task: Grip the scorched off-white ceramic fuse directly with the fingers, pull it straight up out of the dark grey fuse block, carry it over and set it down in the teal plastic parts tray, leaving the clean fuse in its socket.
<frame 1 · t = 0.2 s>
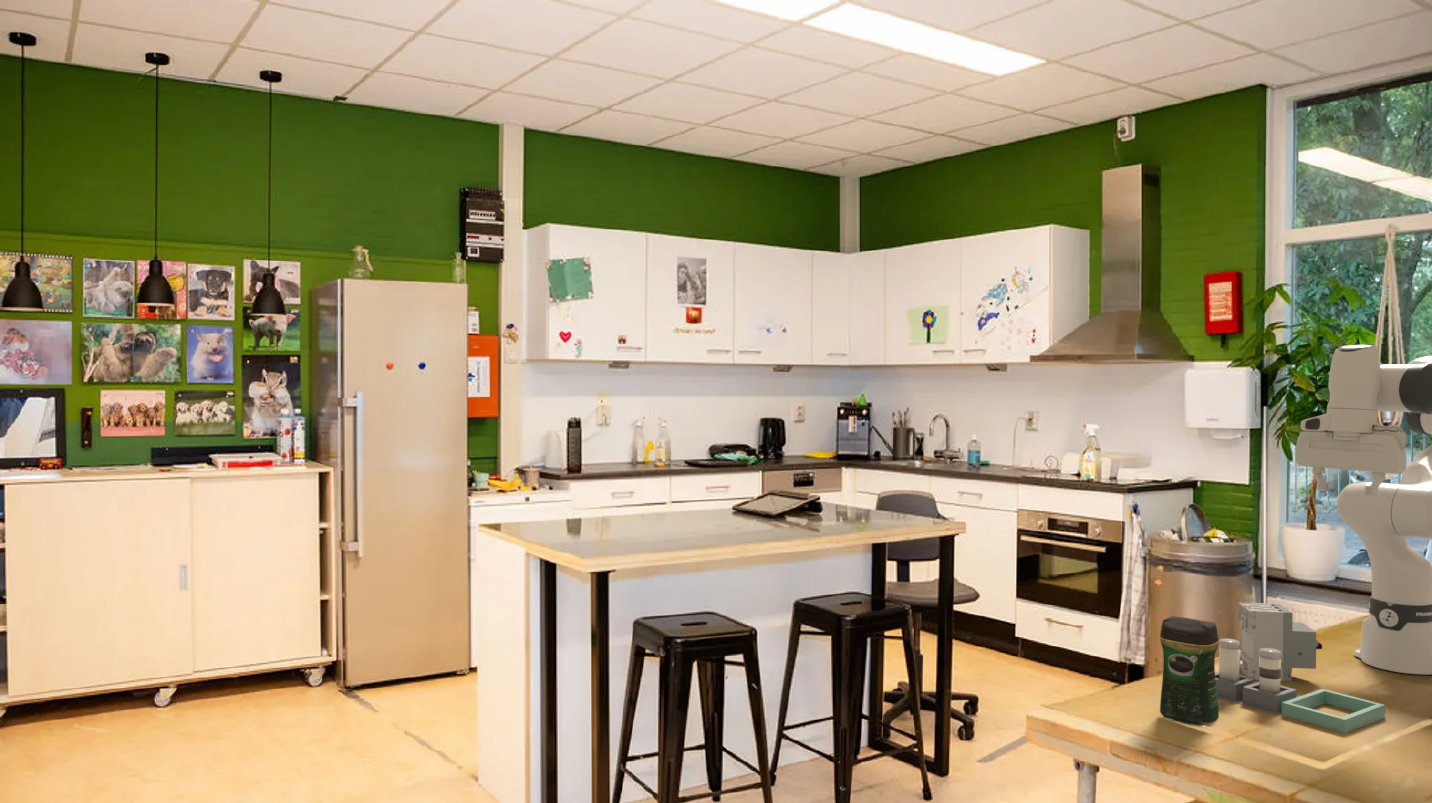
hand: (1346, 493, 206), 39 cm above the table, tool pointing down, fingers open, 8 cm apart
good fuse: (1229, 692, 200), point 1 cm above the table, touching fuse block
parts tray: (1332, 721, 187), on the table
fuse block: (1248, 703, 197), on the table
circuit breaker: (1279, 681, 211), on the table
blown fuse: (1269, 704, 194), point 1 cm above the table, touching fuse block
coffee jar: (1188, 719, 189), on the table
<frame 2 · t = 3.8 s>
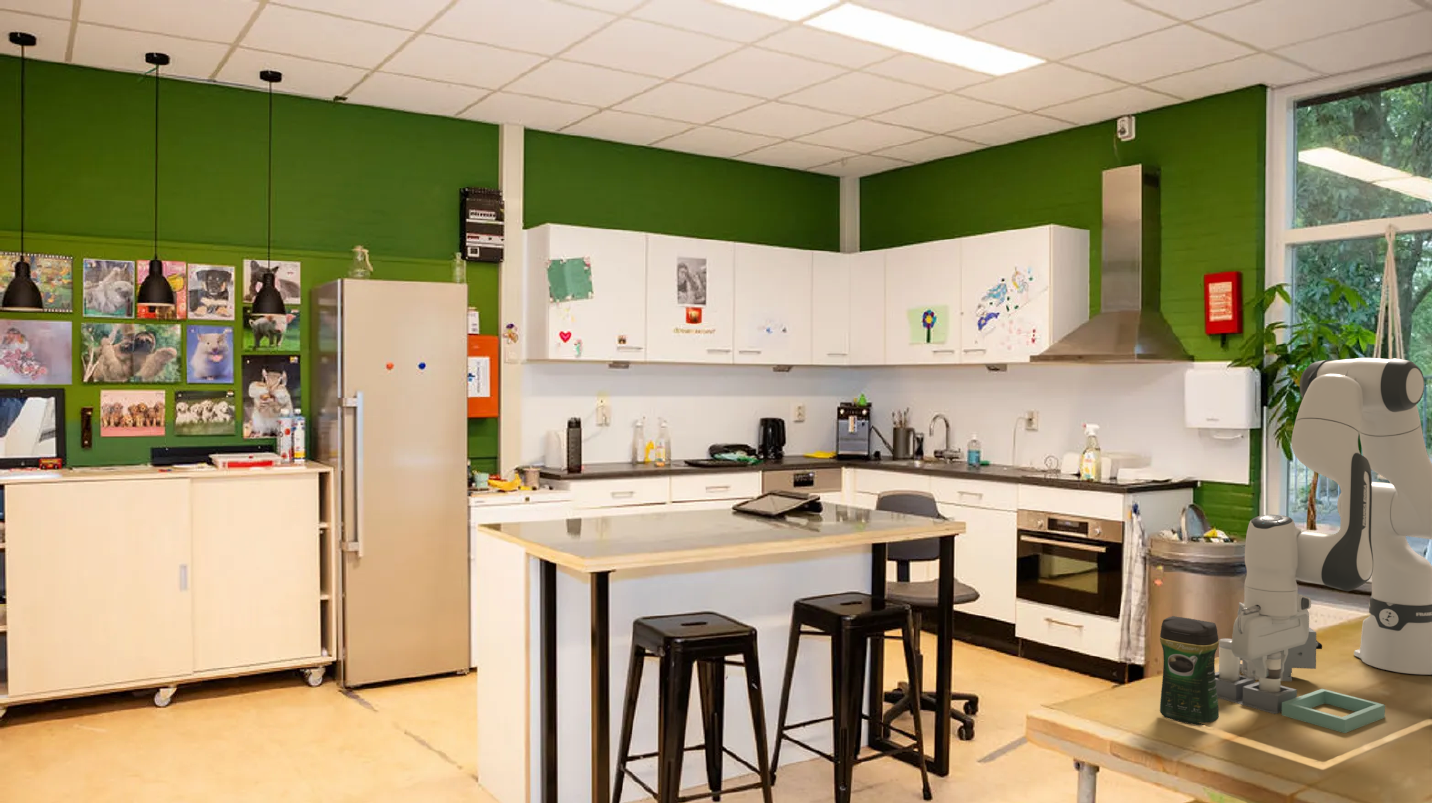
hand: (1269, 674, 193), 7 cm above the table, tool pointing down, fingers closed on blown fuse, 4 cm apart
blown fuse: (1269, 704, 194), point 1 cm above the table, touching fuse block, gripper
everything else where it was.
when the fingers open (8 cm above the table, at t = 10.2 s): blown fuse drops 1 cm, resting on parts tray.
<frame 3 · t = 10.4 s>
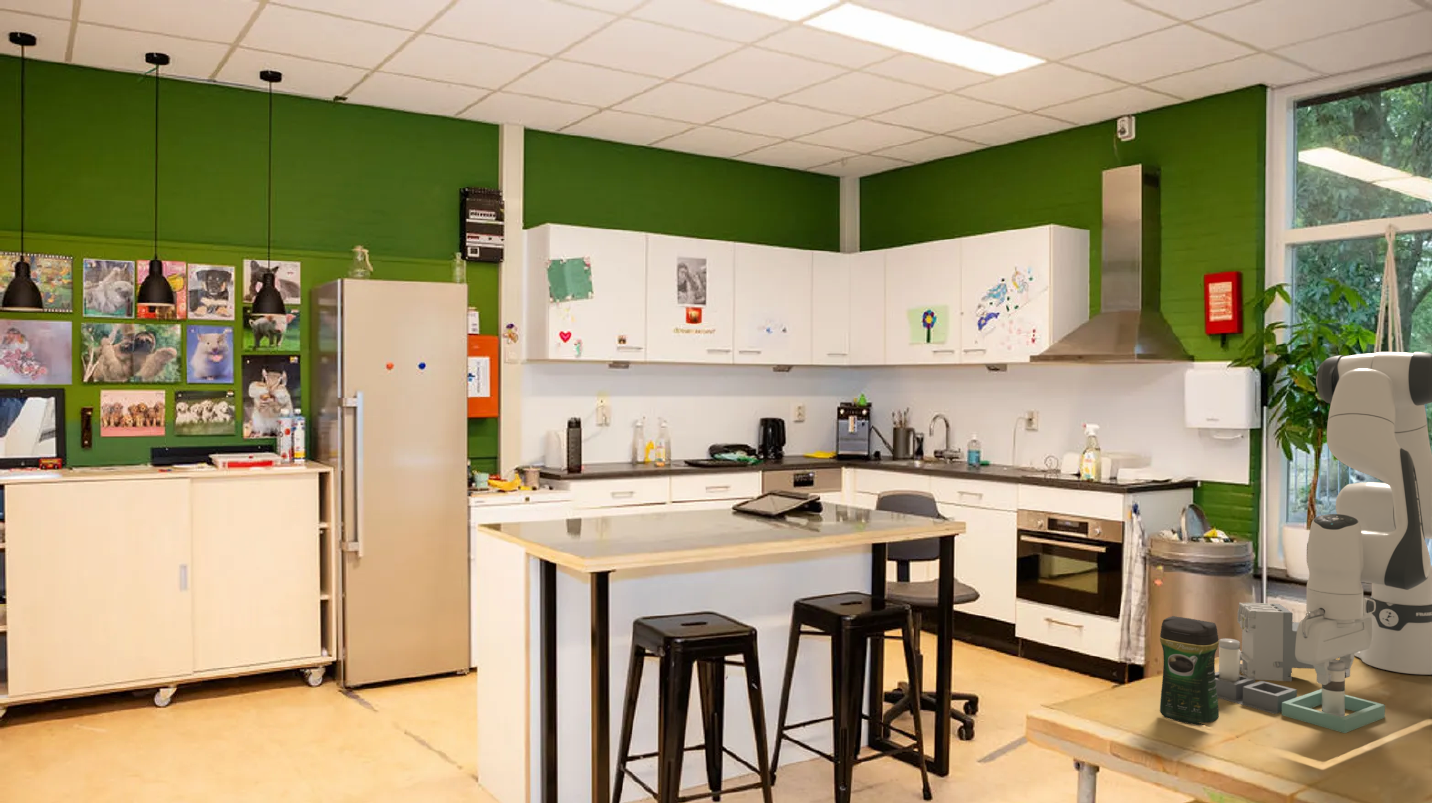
hand: (1333, 680, 187), 8 cm above the table, tool pointing down, fingers open, 5 cm apart
blown fuse: (1333, 716, 187), point 1 cm above the table, touching parts tray
everything else where it was.
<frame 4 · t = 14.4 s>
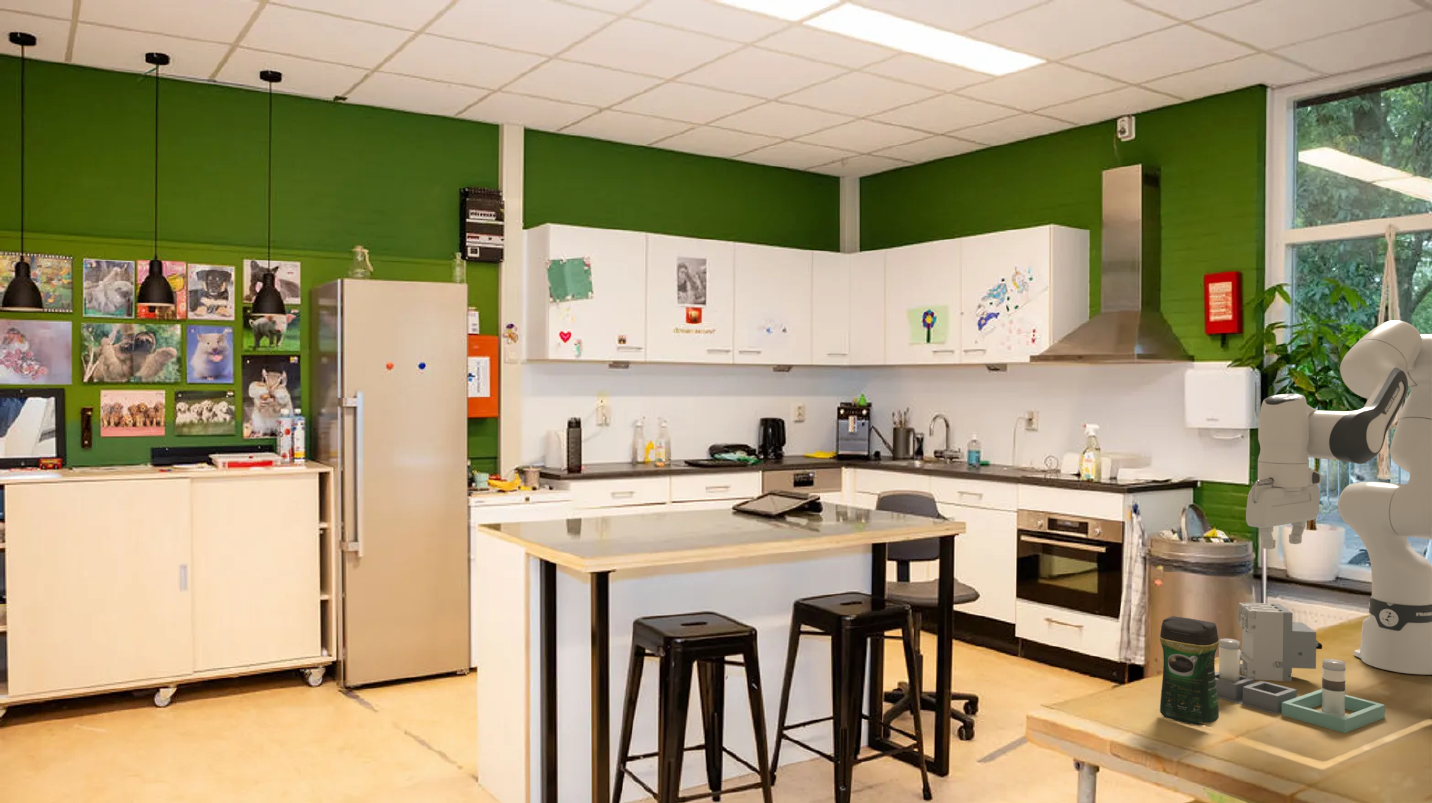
hand: (1282, 546, 203), 29 cm above the table, tool pointing down, fingers open, 8 cm apart
nothing on the table moved.
at the end: blown fuse inside the target area on the parts tray (0.1 cm from its centre), point 0.8 cm above the parts tray's base; the gripper is holding nothing; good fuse moved 0.1 cm from its start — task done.
